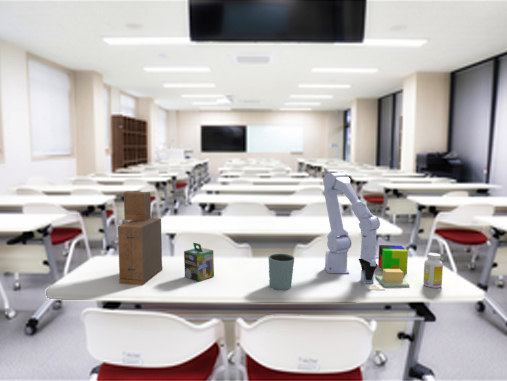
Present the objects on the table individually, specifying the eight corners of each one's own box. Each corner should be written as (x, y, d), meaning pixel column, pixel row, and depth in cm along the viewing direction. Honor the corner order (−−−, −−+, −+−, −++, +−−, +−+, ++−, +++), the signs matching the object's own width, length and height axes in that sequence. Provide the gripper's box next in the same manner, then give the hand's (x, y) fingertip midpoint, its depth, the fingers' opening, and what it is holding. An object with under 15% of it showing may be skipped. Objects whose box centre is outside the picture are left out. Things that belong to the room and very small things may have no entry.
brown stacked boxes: (132, 268, 169) (130, 191, 165) (162, 269, 167) (160, 192, 163) (110, 282, 150) (107, 196, 146) (143, 285, 148) (140, 197, 144)
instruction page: (369, 289, 145) (369, 289, 145) (365, 285, 150) (365, 284, 150) (384, 289, 144) (384, 289, 144) (380, 285, 149) (380, 284, 149)
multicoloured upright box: (214, 277, 158) (214, 242, 156) (197, 282, 151) (197, 246, 150) (200, 272, 164) (200, 239, 163) (183, 277, 158) (183, 242, 156)
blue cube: (363, 282, 152) (363, 273, 152) (360, 279, 156) (361, 270, 156) (373, 283, 152) (373, 273, 152) (370, 279, 156) (370, 270, 155)
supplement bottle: (443, 285, 150) (445, 254, 149) (439, 289, 145) (441, 257, 144) (425, 281, 154) (427, 251, 153) (421, 285, 149) (422, 254, 148)
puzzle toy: (400, 266, 174) (401, 245, 173) (406, 273, 164) (407, 251, 163) (378, 265, 175) (379, 244, 174) (383, 272, 165) (384, 250, 164)
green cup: (268, 281, 153) (268, 253, 151) (292, 282, 152) (293, 253, 151) (268, 291, 143) (268, 260, 141) (294, 291, 142) (295, 260, 141)
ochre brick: (385, 281, 151) (386, 272, 150) (382, 278, 155) (382, 268, 154) (402, 281, 151) (403, 272, 150) (399, 278, 155) (399, 269, 154)
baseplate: (384, 286, 148) (384, 284, 148) (376, 278, 158) (376, 275, 158) (409, 286, 148) (409, 284, 148) (399, 278, 158) (399, 276, 158)
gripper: (384, 250, 145) (382, 284, 147) (372, 241, 160) (371, 272, 161) (366, 250, 145) (364, 284, 147) (356, 241, 160) (355, 272, 161)
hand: (367, 277), depth 154 cm, fingers closed on blue cube, 4 cm apart
